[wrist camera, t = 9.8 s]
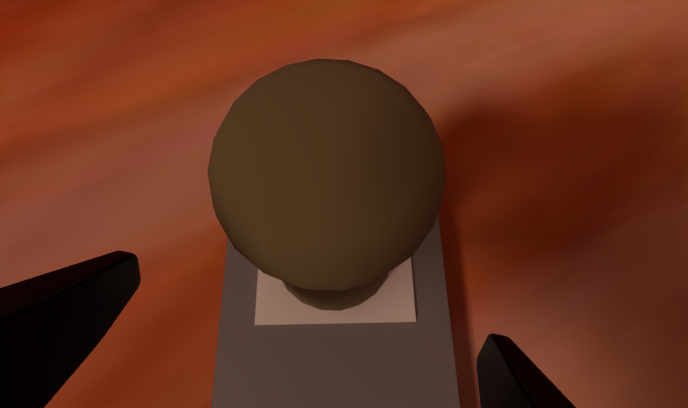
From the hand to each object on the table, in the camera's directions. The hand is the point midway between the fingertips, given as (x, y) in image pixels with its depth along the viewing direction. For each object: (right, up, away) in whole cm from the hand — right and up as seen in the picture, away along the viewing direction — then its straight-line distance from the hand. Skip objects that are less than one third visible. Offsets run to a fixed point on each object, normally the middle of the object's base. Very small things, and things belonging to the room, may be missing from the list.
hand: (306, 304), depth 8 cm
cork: (0, 0, +8) cm, 8 cm away
